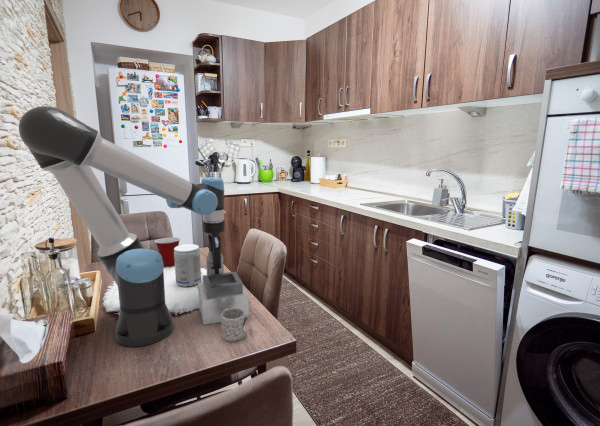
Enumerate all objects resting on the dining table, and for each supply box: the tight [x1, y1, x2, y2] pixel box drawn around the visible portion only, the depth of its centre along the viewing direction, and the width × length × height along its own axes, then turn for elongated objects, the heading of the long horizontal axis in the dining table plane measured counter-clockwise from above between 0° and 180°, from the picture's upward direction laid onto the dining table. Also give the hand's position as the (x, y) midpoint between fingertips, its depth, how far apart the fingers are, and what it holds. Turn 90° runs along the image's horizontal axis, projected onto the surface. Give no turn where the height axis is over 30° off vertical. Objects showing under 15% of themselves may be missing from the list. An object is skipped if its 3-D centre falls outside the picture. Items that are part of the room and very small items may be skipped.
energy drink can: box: [205, 251, 225, 275], centre depth 121 cm, size 6×6×15 cm
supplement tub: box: [174, 243, 202, 288], centre depth 129 cm, size 10×10×15 cm
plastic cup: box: [154, 237, 181, 267], centre depth 149 cm, size 11×11×12 cm
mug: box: [220, 308, 246, 342], centre depth 95 cm, size 10×7×7 cm
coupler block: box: [197, 271, 250, 326], centre depth 107 cm, size 14×14×11 cm
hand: (215, 281), depth 122 cm, fingers closed on energy drink can, 6 cm apart
